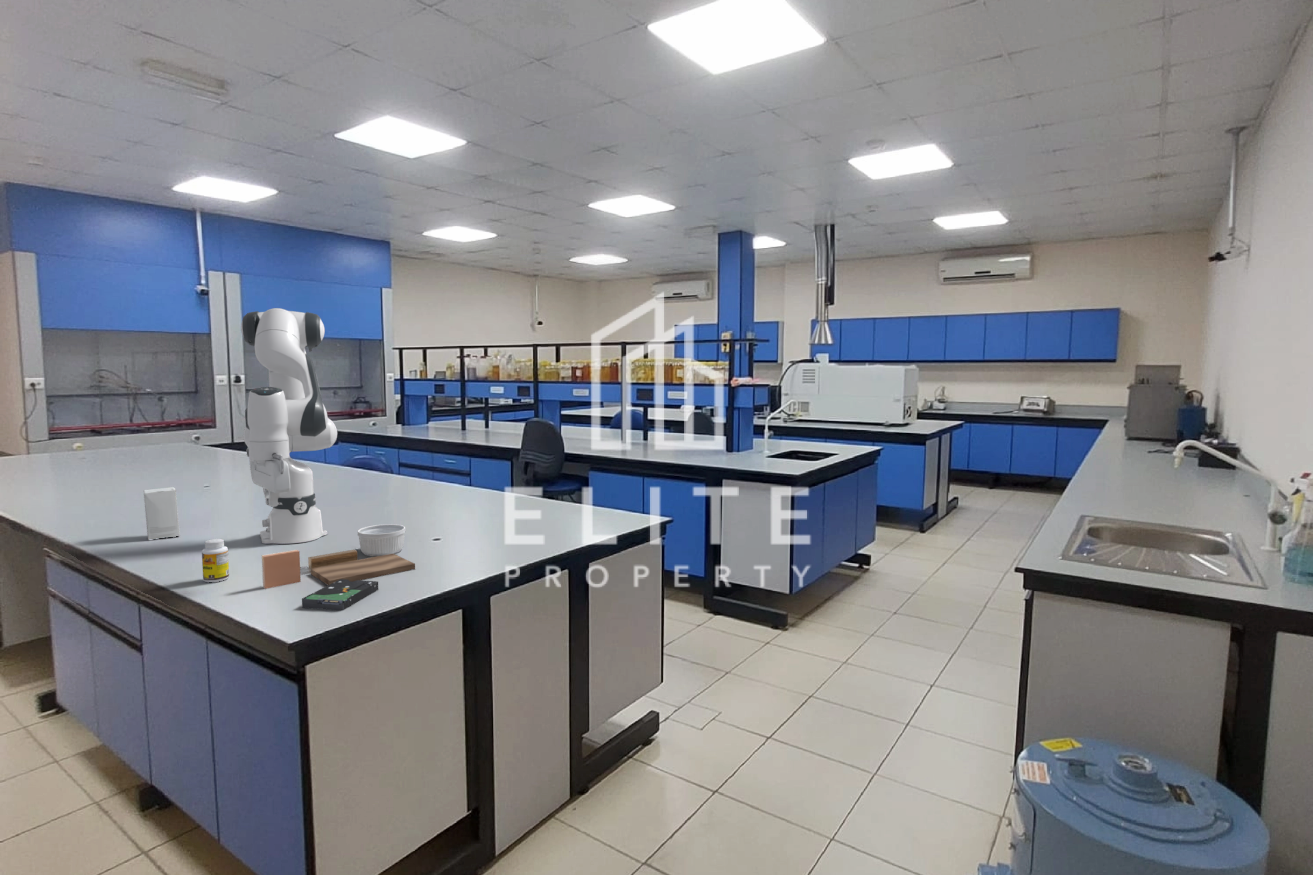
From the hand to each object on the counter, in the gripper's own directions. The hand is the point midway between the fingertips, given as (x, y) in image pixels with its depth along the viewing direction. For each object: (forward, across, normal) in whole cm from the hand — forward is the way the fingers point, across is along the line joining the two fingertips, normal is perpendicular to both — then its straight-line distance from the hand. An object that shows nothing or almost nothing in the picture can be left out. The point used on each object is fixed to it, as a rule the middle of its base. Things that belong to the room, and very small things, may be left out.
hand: (271, 505), depth 169 cm
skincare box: (+19, +71, +13) cm, 75 cm away
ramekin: (+20, +8, -31) cm, 37 cm away
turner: (+19, +2, -11) cm, 22 cm away
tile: (+19, -6, 0) cm, 20 cm away
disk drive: (+20, -27, -7) cm, 34 cm away
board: (+19, -9, -19) cm, 28 cm away
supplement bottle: (+19, +9, +11) cm, 24 cm away
